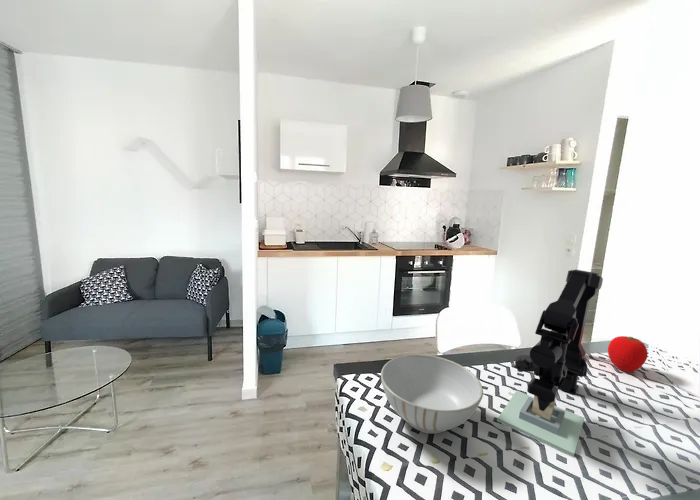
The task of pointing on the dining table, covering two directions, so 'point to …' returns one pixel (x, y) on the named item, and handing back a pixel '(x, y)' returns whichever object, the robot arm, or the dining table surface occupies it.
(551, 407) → the birch peg
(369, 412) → the dining table surface
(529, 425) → the socket board
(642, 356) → the tomato
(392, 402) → the decorative bowl
